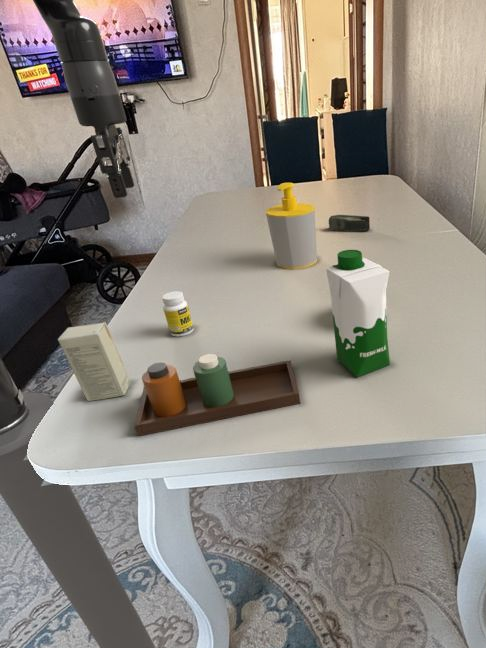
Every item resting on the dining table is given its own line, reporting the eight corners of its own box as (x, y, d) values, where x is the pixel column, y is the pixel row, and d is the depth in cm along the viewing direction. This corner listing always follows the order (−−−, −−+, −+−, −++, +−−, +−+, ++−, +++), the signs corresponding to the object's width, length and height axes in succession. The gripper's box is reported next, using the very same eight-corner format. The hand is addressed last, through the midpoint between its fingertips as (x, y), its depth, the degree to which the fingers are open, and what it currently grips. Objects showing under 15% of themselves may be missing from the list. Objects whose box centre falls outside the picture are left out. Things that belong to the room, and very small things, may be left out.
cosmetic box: (131, 382, 83) (108, 321, 77) (125, 396, 79) (100, 333, 73) (93, 387, 82) (66, 326, 76) (84, 402, 79) (56, 338, 72)
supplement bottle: (186, 337, 97) (176, 300, 92) (166, 336, 97) (154, 299, 93) (198, 326, 101) (188, 290, 96) (178, 325, 101) (168, 289, 97)
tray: (138, 436, 70) (134, 426, 69) (147, 396, 79) (143, 386, 78) (300, 403, 75) (299, 393, 74) (292, 369, 84) (290, 359, 83)
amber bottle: (152, 420, 73) (137, 379, 69) (155, 401, 77) (141, 361, 73) (185, 413, 74) (172, 372, 70) (187, 395, 78) (175, 356, 74)
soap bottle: (264, 266, 130) (250, 188, 119) (290, 251, 140) (280, 177, 129) (304, 272, 125) (294, 190, 114) (328, 256, 135) (321, 179, 124)
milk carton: (370, 345, 90) (364, 244, 80) (397, 365, 83) (395, 258, 73) (330, 359, 86) (319, 255, 76) (355, 382, 80) (346, 271, 69)
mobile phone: (369, 214, 153) (325, 213, 156) (368, 217, 151) (323, 216, 153) (370, 229, 156) (326, 228, 158) (368, 232, 153) (324, 231, 156)
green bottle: (202, 410, 74) (190, 369, 70) (202, 392, 78) (191, 353, 75) (234, 403, 75) (224, 363, 71) (233, 386, 80) (223, 347, 76)
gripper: (80, 93, 84) (110, 187, 93) (58, 96, 72) (95, 203, 81) (125, 91, 86) (150, 183, 94) (110, 93, 74) (141, 198, 82)
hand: (125, 192), depth 87 cm, fingers open, 8 cm apart
